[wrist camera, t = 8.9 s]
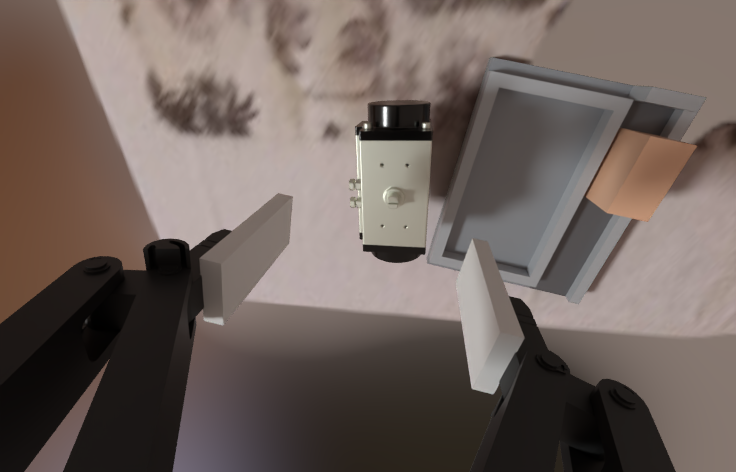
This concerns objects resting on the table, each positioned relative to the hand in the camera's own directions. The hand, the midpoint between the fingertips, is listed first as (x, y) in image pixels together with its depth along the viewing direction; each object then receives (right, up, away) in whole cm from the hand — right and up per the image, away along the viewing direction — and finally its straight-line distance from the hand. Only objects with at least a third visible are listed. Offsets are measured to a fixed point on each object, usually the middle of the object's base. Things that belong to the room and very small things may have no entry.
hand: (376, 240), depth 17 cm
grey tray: (+16, +5, +15) cm, 22 cm away
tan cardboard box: (+21, +6, +12) cm, 25 cm away
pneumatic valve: (+3, +8, +16) cm, 18 cm away
